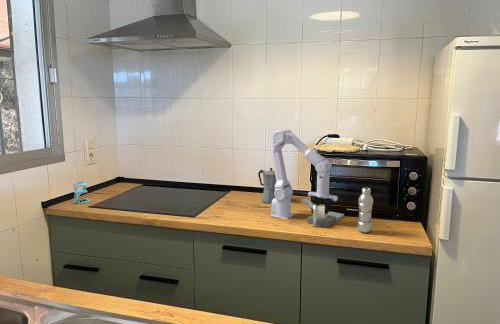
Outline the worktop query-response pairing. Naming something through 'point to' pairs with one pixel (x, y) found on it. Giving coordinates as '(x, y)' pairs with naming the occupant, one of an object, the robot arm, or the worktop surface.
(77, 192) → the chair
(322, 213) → the plug
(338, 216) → the tile
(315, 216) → the grey piece
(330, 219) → the socket block
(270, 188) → the moka pot
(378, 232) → the worktop surface
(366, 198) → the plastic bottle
